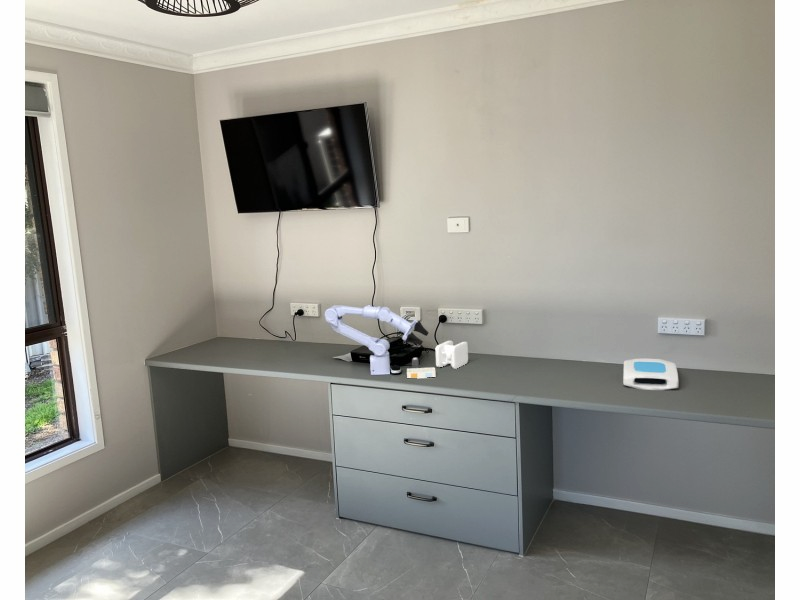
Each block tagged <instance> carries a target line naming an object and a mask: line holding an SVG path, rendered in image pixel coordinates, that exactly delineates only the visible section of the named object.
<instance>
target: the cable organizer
mask: <svg viewBox="0 0 800 600" xmlns="http://www.w3.org/2000/svg"><path fill="white" fill-rule="evenodd" d="M468 345H469V343H468V341H462V342H459V343H458V344H457V343H456V344H455V345H454V342H453V341H452V340H446V341H444V342H441V343H440V344H437V345H436V346H435V348H434V349H435V350H434V351H435V366H436V367H437V368H440V367H442V368H444V367H445V366H447V365H449V364H450V367H452V369H454V370H458V369H460V368H461V367H464V366H465V364H466V365H467V364H468V362H469V348H468V347H469V346H468ZM463 365H464V366H463ZM443 366H444V367H443ZM459 367H460V368H459ZM457 368H458V369H457Z"/></svg>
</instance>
